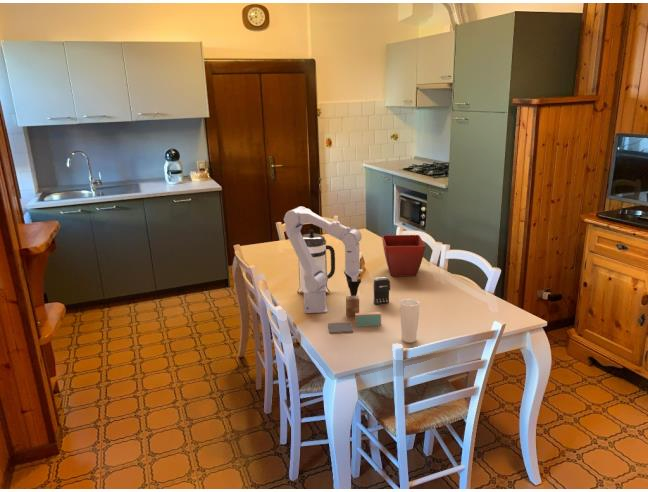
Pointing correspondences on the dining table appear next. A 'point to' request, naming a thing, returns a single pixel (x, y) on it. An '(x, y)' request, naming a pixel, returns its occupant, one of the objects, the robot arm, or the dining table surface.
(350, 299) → the brown rectangular block
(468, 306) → the dining table surface
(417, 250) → the plant pot
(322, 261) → the coffee press
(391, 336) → the dining table surface
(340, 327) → the mat
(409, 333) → the drinking glass
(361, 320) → the tile
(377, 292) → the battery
